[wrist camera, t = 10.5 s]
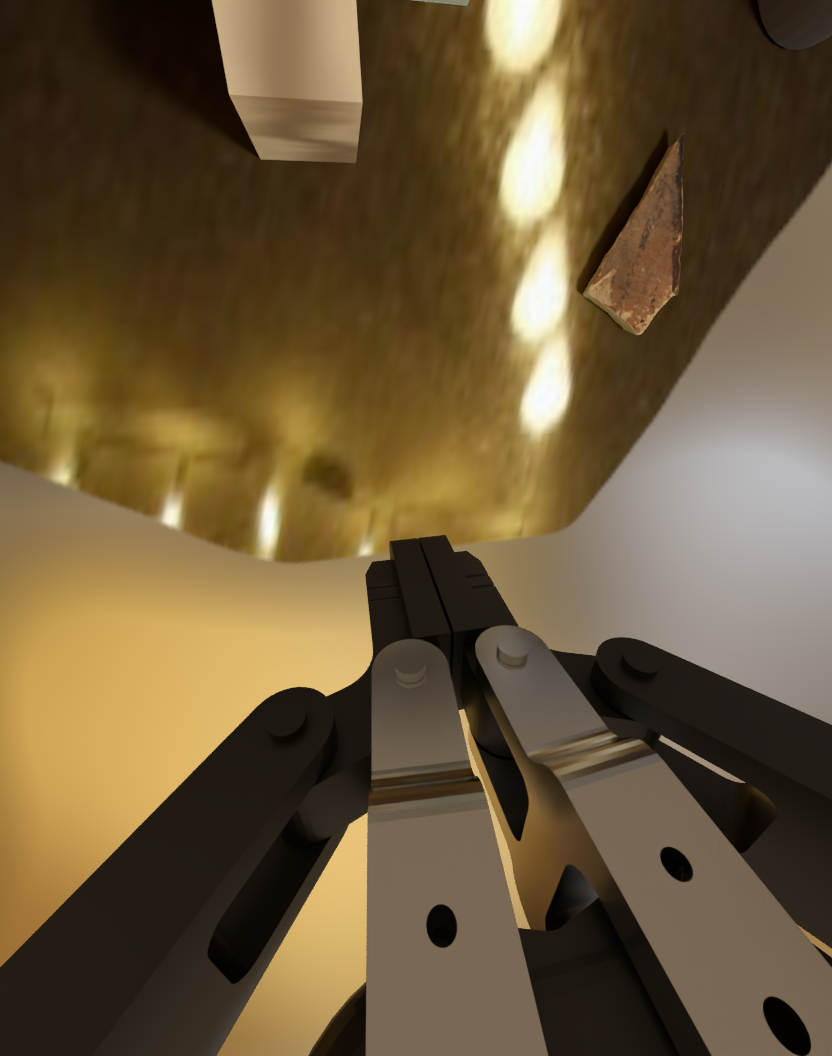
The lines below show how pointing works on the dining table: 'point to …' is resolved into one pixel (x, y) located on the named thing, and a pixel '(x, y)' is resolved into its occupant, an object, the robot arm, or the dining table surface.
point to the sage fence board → (448, 1)
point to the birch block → (294, 75)
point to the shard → (645, 251)
